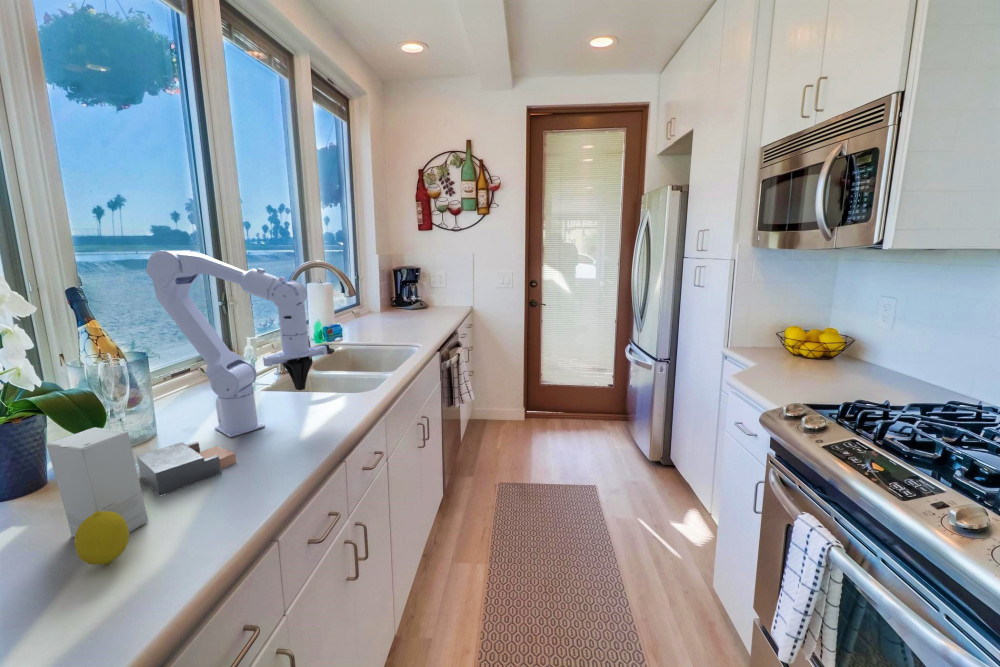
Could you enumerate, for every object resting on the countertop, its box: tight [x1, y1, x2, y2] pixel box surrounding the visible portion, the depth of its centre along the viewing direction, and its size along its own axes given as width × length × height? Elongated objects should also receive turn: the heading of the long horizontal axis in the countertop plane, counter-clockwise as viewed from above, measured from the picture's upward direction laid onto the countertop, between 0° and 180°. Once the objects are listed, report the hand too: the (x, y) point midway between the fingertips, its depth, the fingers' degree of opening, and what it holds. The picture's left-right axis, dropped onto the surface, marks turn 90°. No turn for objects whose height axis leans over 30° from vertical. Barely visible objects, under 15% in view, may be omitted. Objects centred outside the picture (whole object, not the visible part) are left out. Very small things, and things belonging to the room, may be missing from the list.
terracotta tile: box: [198, 445, 237, 469], centre depth 89 cm, size 7×12×2 cm, turn 149°
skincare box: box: [46, 426, 149, 538], centre depth 69 cm, size 8×7×16 cm
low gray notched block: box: [136, 441, 222, 497], centre depth 87 cm, size 11×10×4 cm
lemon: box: [74, 511, 130, 566], centre depth 62 cm, size 6×6×8 cm
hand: (300, 389), depth 108 cm, fingers closed
